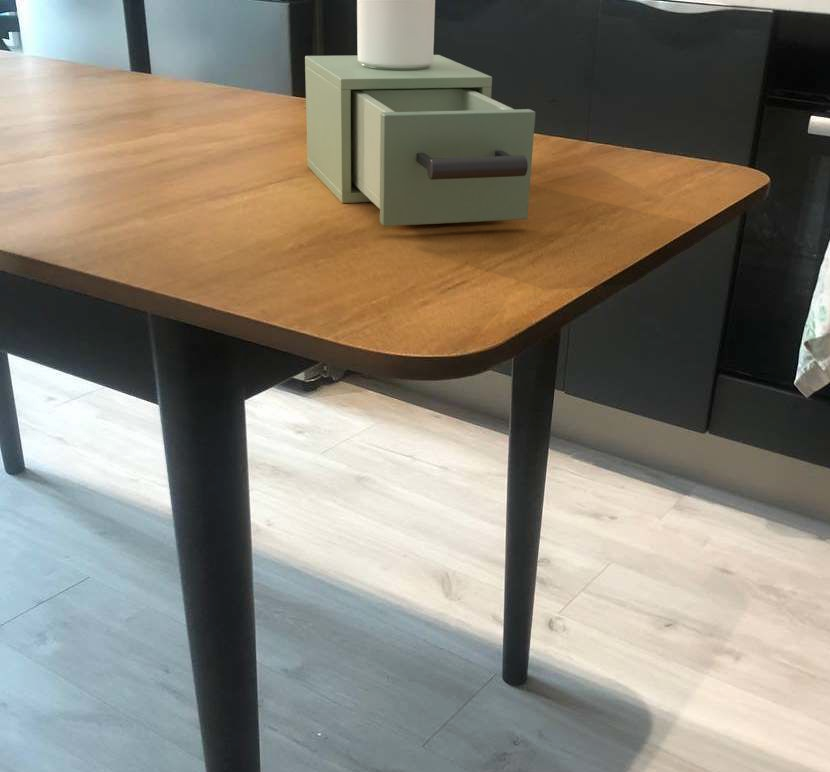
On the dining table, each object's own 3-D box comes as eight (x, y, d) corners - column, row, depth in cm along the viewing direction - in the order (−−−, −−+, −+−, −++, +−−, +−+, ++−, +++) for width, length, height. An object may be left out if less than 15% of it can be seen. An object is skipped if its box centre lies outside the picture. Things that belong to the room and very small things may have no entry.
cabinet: (485, 197, 93) (492, 76, 88) (341, 203, 89) (340, 78, 85) (435, 162, 105) (439, 54, 100) (307, 166, 102) (304, 55, 97)
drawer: (551, 235, 79) (561, 122, 75) (400, 243, 76) (402, 127, 72) (471, 180, 94) (475, 84, 90) (342, 185, 91) (341, 86, 87)
